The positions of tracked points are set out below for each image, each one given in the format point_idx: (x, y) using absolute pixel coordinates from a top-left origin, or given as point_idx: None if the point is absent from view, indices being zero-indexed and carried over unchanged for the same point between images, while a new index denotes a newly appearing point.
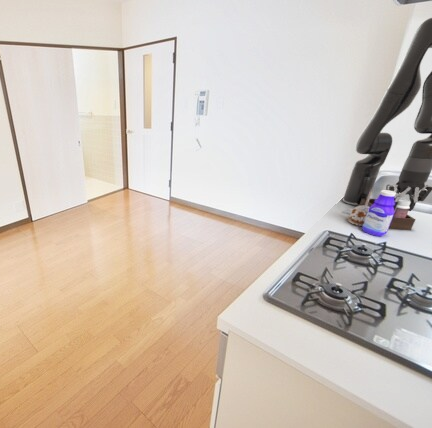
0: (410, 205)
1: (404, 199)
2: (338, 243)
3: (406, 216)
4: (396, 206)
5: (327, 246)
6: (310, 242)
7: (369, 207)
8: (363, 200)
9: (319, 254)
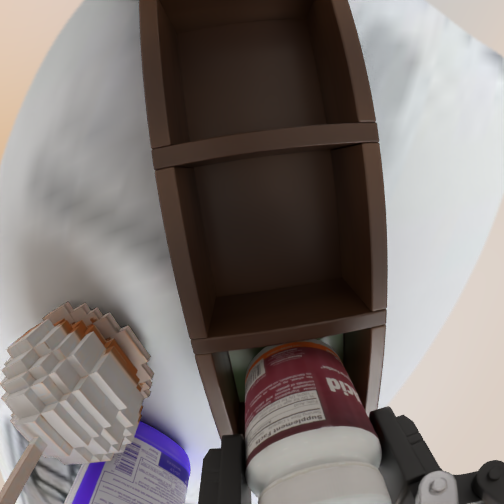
0: (384, 476)
1: (366, 501)
2: (56, 481)
3: (363, 384)
4: (255, 494)
5: (41, 485)
6: (9, 467)
7: (62, 456)
8: (142, 22)
9: (40, 500)
